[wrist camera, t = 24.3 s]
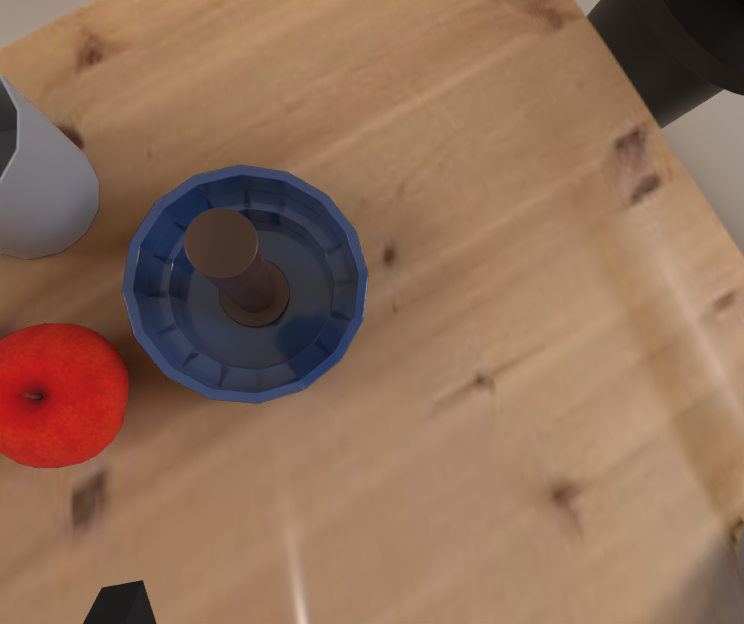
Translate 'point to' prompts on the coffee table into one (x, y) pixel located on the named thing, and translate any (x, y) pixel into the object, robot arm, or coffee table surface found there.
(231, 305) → the cylinder with round base
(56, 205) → the cup
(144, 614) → the robot arm
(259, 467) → the coffee table surface
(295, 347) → the bowl
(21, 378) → the apple
